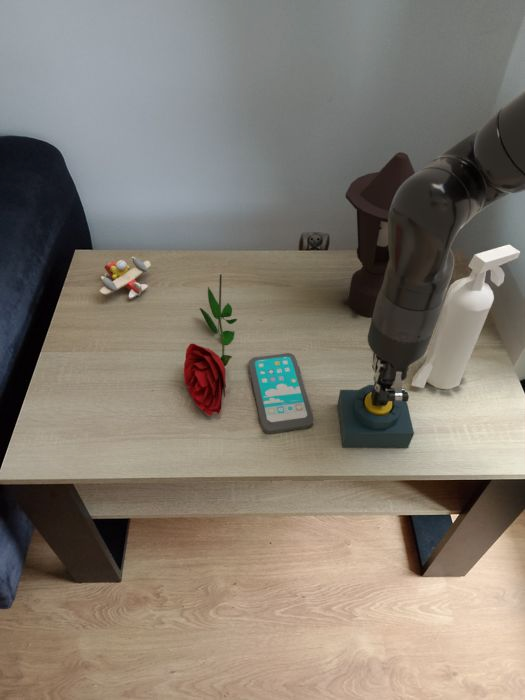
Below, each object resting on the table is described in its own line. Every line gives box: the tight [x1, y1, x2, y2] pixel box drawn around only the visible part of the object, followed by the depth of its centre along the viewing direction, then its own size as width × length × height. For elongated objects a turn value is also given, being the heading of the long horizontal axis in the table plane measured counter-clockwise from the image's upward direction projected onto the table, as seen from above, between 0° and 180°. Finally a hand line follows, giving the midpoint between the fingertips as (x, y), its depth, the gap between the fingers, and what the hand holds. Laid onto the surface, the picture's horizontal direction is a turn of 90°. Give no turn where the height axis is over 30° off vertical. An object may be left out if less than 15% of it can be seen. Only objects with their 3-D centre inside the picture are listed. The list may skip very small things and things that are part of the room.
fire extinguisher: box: [411, 244, 521, 391], centre depth 77 cm, size 7×12×25 cm, turn 116°
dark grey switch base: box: [336, 384, 415, 449], centre depth 77 cm, size 10×8×6 cm
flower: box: [183, 273, 238, 417], centre depth 87 cm, size 9×10×30 cm
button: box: [364, 392, 392, 416], centre depth 76 cm, size 4×4×2 cm
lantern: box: [345, 151, 416, 318], centre depth 87 cm, size 15×15×30 cm
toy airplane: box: [99, 256, 151, 300], centre depth 98 cm, size 9×9×6 cm
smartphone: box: [248, 352, 314, 435], centre depth 83 cm, size 9×1×15 cm
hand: (378, 401), depth 75 cm, fingers closed
